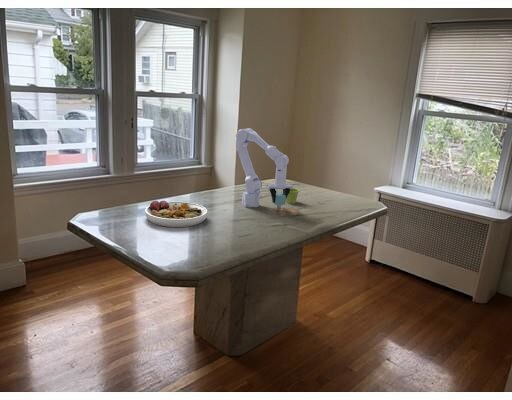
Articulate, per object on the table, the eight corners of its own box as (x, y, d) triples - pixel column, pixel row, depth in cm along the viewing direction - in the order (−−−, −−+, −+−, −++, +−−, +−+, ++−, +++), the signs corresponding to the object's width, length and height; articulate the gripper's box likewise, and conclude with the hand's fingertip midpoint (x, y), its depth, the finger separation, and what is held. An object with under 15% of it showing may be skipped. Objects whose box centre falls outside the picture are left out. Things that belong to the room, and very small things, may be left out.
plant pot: (298, 206, 246) (299, 192, 244) (282, 205, 246) (283, 191, 244) (297, 202, 255) (298, 188, 253) (281, 201, 255) (283, 187, 253)
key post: (276, 210, 231) (276, 204, 230) (275, 209, 232) (276, 203, 231) (280, 210, 232) (281, 204, 231) (279, 209, 233) (280, 203, 232)
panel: (277, 217, 223) (277, 215, 223) (268, 210, 235) (268, 208, 234) (303, 216, 228) (303, 214, 228) (293, 209, 240) (293, 207, 239)
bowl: (215, 215, 220) (216, 201, 218) (192, 233, 192) (192, 216, 190) (163, 207, 228) (163, 193, 226) (133, 223, 200) (133, 207, 198)
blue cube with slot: (275, 205, 228) (276, 195, 226) (272, 202, 233) (272, 193, 231) (285, 204, 229) (285, 195, 228) (281, 202, 234) (282, 193, 233)
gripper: (270, 179, 221) (269, 204, 225) (296, 179, 226) (293, 203, 230) (266, 176, 228) (264, 200, 231) (290, 176, 232) (288, 200, 236)
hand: (278, 201), depth 231 cm, fingers closed on blue cube with slot, 5 cm apart
